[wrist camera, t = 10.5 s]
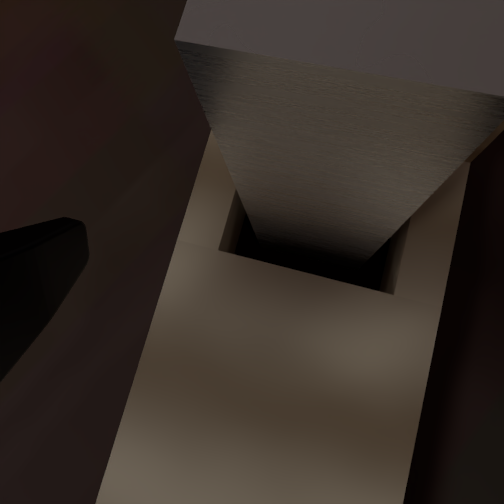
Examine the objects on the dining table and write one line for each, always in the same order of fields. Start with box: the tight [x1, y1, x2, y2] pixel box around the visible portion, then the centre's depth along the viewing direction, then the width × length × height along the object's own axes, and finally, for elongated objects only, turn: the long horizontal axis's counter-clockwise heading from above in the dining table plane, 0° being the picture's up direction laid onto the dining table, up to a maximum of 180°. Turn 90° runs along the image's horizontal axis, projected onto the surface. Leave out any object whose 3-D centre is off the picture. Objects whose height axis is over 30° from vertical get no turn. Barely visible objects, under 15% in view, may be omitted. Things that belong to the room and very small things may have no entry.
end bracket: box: [174, 0, 504, 271], centre depth 11 cm, size 5×4×12 cm
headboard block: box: [96, 121, 504, 504], centre depth 14 cm, size 16×9×6 cm, turn 164°
